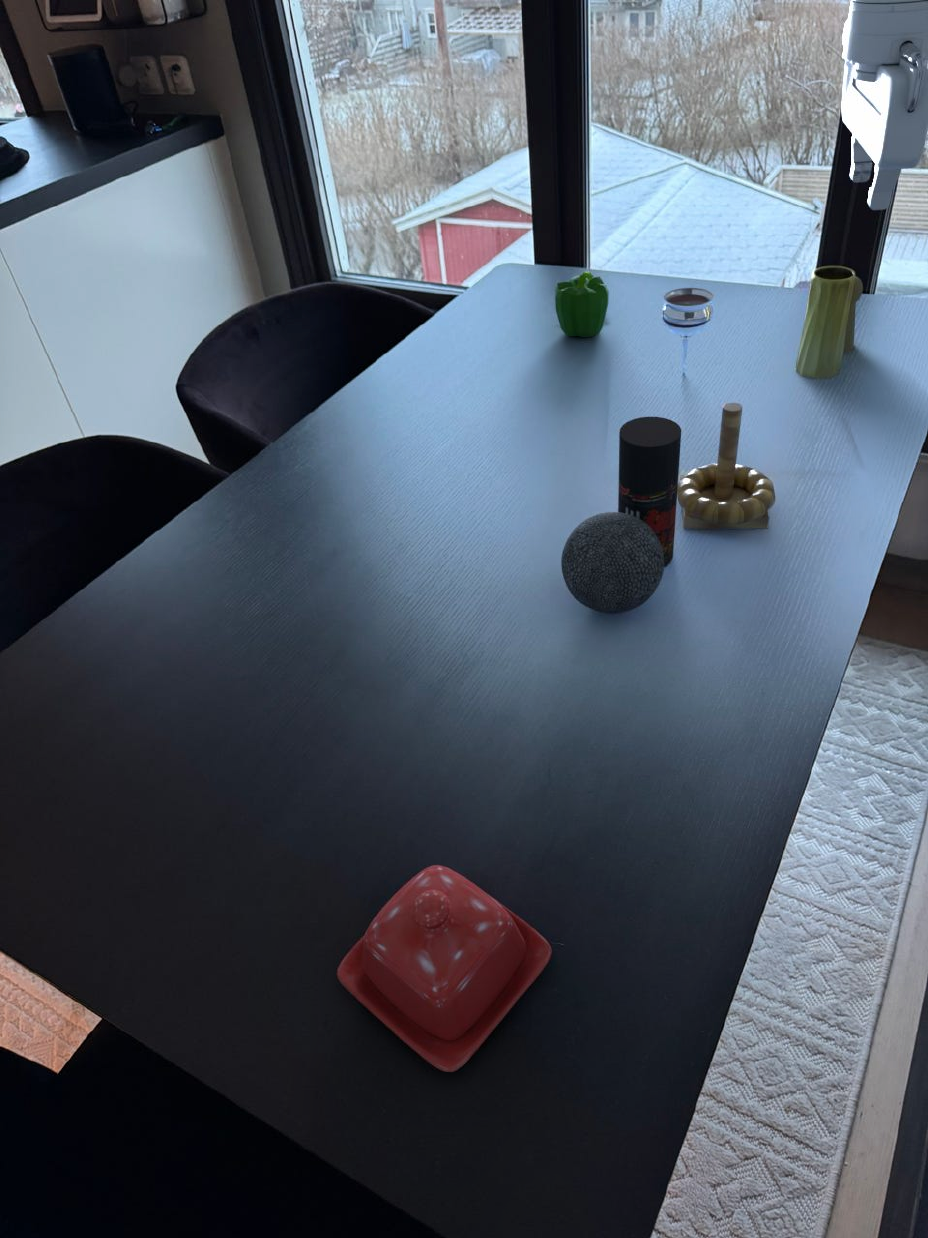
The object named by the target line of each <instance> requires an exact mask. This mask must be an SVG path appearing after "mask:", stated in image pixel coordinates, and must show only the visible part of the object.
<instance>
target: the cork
mask: <svg viewBox="0 0 928 1238" xmlns="http://www.w3.org/2000/svg"><path fill="white" fill-rule="evenodd" d="M863 285H864V284H863V281H862V280H861V278H860V277H858V276H856V275H855V279H854V284H853V290H852V296H851V302H850V309H849V314H848V320H847V326H846V333H845V340H844V348H843V355H846V354H849V353H850V352H851V353H852V351H853V350H854V347H855V331H856V330H855V329H856V328H855V327H856V307H857V302H858V301H860V299H861V297H862V294H863V292H864V291H863V290H864V286H863Z"/></svg>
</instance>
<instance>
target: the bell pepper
mask: <svg viewBox="0 0 928 1238" xmlns="http://www.w3.org/2000/svg"><path fill="white" fill-rule="evenodd" d="M609 292H610V291H609V289H608V287H607V284H605V283H604V281H603V279H602V278H601V276H594V274H593V273H592V272H590V271H587V270H586V271H583V272H581V273H580V275H575V276H574V277H572V278H570V279H569V281H561V282H557V283H556V286H555V289H554V303H555V313H556V317H557V321H558V324H559V327H560V330H561V331H562V332H563V333H564V335H566V336H567V337H577V336H578V337H580V338H590V337H591V338H592V337H595V336H597V335H599V334H600V332H601V331H602V329H603V327H604V323H605V319H606V315H607V311H608V307H609V295H610V294H609Z"/></svg>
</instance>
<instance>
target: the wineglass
mask: <svg viewBox="0 0 928 1238" xmlns="http://www.w3.org/2000/svg"><path fill="white" fill-rule="evenodd" d="M662 298H663V301H664V304H663V306H662V309H661V319H662V322H663V324H664V326H665V327H666V328H667V329H668V330H669V331H670V332H671V333H673V334H674V335H677V336H679V337H680V338H681V339H682V352H681V353H682V356H681V357H682V359H681V360H682V361H681V374H683V375H684V374H686V366H687V359H688V358H687V357H688V349H689V340H690V339H691V338H692V337H693V336H694V335H697V334H700V333H701V332H702V331H703V330H704V329H707V327H708V326H709V325H710V323H711V321H712V319H713V315H714V305H713V303H712V302H713V301H714V299H715V294H714V293H713V292H712V291H710V290H708V289H706V288H701V287H693V286H692V287H690V286H689V287H680V288H679V287H678V288H675V289H671V290H669V291H667V292H666V293H664V294H663V297H662Z"/></svg>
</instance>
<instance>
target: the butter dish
mask: <svg viewBox="0 0 928 1238" xmlns="http://www.w3.org/2000/svg"><path fill="white" fill-rule="evenodd" d="M552 953H553V951H552V947H551V945H550V943H549V942H548V940H547V939H546V938H545V937H544V936H543V935H541V934H540V933H539V932H538V931H537V929H536V928H533V927H532V926H530V924H529V923H527V922H526V921H525V920H523V919H522V918H521V917H520V916H518V915H517V914H515V913H514V912H513V911H512V910H510V909H509V908H507V907H506V905H504V904H502V903H501V902H499V901H498V900H497V899H496V898H494V897H493V896H491V895H490V894H489V893H487V892H485V891H484V890H483V889H482V888H480V887H479V886H478V885H476V884H475V883H473V882H472V881H470V880H469V879H467V878H466V877H465V876H464V875H462V874H460V873H459V872H457V871H455V870H453V869H451V868H449V867H446V866H444V865H439V864H434V865H433V864H432V865H430V866H428V867H426V868H424V869H422V870H421V871H420V872H418V873H417V874H416V875H415V876H413V877H412V878H411V879H410V880H409V881H407V882H406V883H405V884H404V885H403V886H402V887H401V888H400V889H399V890H397V892H396V893H395V894H394V895H393V896H392V897H391V898H390V899H389V900H388V901H386V903H385V904H384V906H383V907H382V908H381V909H380V910H379V912H378V913H377V915H376V916H375V917H374V918H373V920H372V921H371V923H370V924H369V926H368V928H367V929H366V931H365V933H364V935H363V936H362V937H361V938H360V939H359V940H358V941H357V942H356V943H355V944H354V945H353V946H352V947H351V949H350V951H348V953H347V954H346V955H345V957H344V958H343V960H342V961H341V963H340V964H339V966H338V967H337V971H336V977H337V979H338V981H339V982H340V984H341V985H342V986H343V987H344V988H345V989H346V990H347V991H348V992H349V994H351V996H353V997H354V998H355V999H356V1000H357V1001H358V1002H359V1003H361V1005H363V1006H364V1007H365V1008H366V1009H367V1010H368V1011H369V1012H370V1013H372V1014H373V1015H374V1016H375V1017H376V1018H377V1019H378V1020H379V1021H381V1023H382V1024H384V1025H385V1027H386V1028H388V1030H390V1031H391V1032H393V1033H394V1034H395V1035H396V1036H397V1037H399V1039H400V1040H401V1041H403V1043H405V1044H406V1045H407V1046H408V1047H410V1048H411V1050H413V1051H414V1052H416V1053H417V1054H418V1055H419V1056H420V1057H421V1058H422V1059H424V1060H425V1061H426V1062H428V1063H429V1064H430V1065H431V1066H433V1067H434V1068H436V1069H438V1070H439V1071H442V1072H444V1073H454V1072H456V1071H458V1070H459V1069H460V1068H462V1067H463V1066H464V1065H465V1064H466V1063H467V1061H469V1060H470V1059H471V1058H472V1056H473V1055H474V1054H475V1053H476V1052H477V1051H478V1050H479V1048H480V1047H481V1045H483V1043H484V1042H485V1040H487V1038H488V1037H489V1035H490V1034H491V1033H492V1032H493V1031H494V1030H495V1029H496V1028H497V1026H498V1025H499V1024H500V1023H501V1022H502V1020H503V1019H504V1018H505V1017H506V1015H507V1014H508V1013H509V1012H510V1011H511V1009H512V1008H513V1007H514V1006H515V1004H516V1003H517V1002H518V1001H519V999H520V998H521V997H522V996H523V995H524V993H525V992H526V991H527V990H528V988H529V987H530V986H531V985H532V984H533V983H534V982H535V980H536V979H537V978H538V977H539V976H540V975H541V974H542V972H543V971H544V970H545V968H546V967H547V964H548V963H549V961H550V959H551V956H552Z"/></svg>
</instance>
